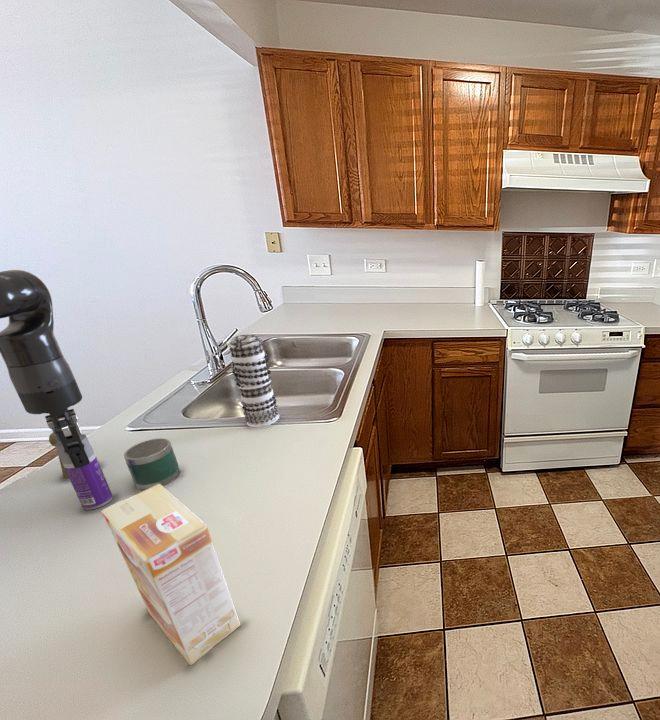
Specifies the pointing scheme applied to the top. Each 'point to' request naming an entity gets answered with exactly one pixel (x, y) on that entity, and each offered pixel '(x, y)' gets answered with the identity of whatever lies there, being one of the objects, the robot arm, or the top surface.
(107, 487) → the container
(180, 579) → the coffeecake box
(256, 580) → the top surface
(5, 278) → the robot arm
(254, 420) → the decorative candle
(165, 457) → the tin can
